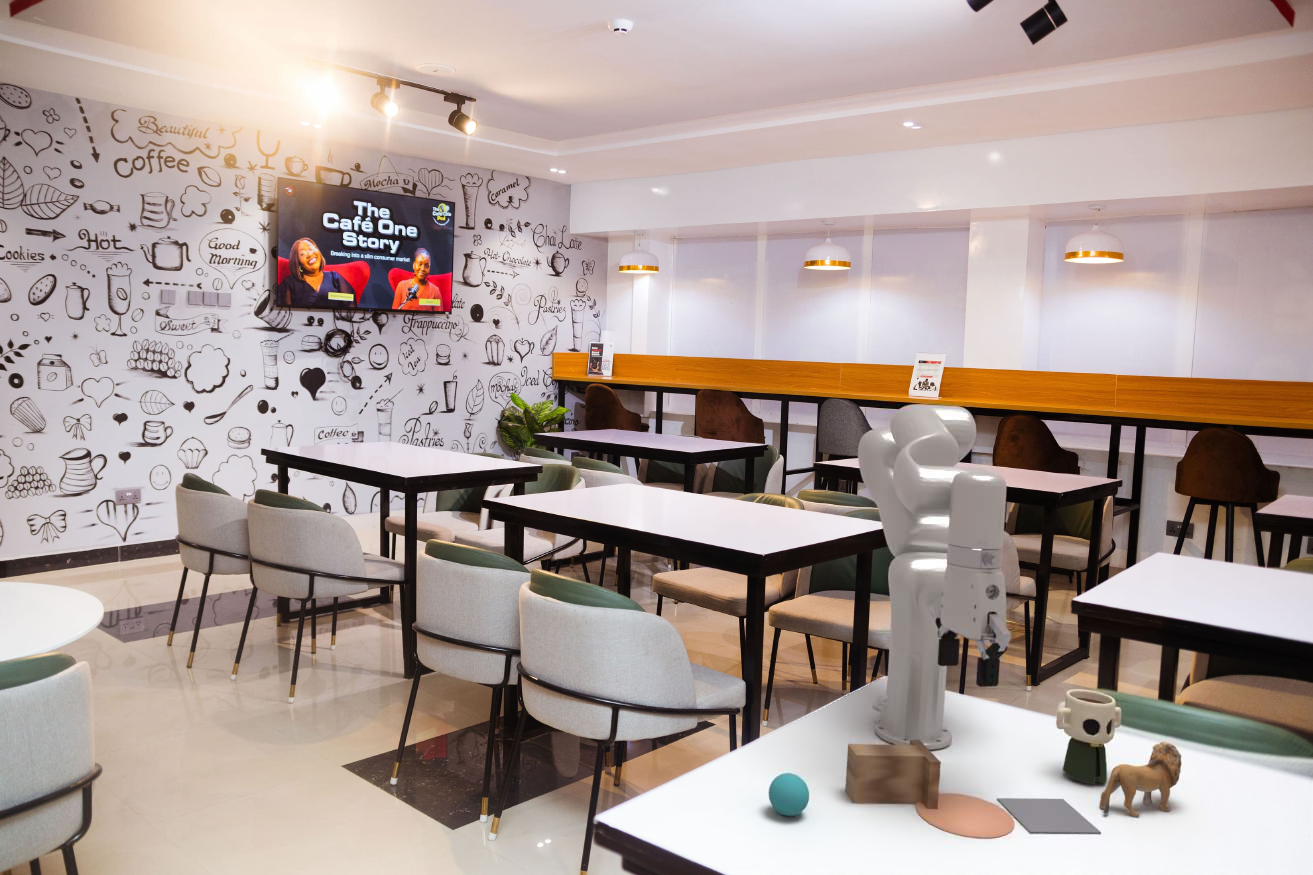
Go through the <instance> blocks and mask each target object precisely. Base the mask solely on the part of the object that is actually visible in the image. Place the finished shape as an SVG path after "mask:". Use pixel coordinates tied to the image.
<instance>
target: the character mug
mask: <svg viewBox="0 0 1313 875" xmlns="http://www.w3.org/2000/svg"><path fill="white" fill-rule="evenodd" d="M1116 705H1117V704H1116V699H1115V698H1114V697H1112V696H1111V695H1109V694H1105V693H1103V692H1100V691H1096V690H1091V689H1090V690H1089V689H1083V688H1082V689H1079V688H1075V689H1068V690H1067V691H1065V700H1064V707H1059V708H1058V709H1057V711H1056V721H1055V724H1056V725H1055V726H1056V728H1057V729H1058V730H1063V731H1064V733H1065V734H1066V735H1067V736H1069V737H1070V738H1069V740H1068V744H1067V748H1066V753H1065V757H1064V761H1063V767H1062V771H1064V773H1065V774H1066V775H1067V776H1069V777H1070V778H1071V779H1073V780H1076V781H1079V782H1081V783H1087V784H1095V783H1096V778H1099V783H1100V784H1104V783H1106V782H1108V781H1107V779H1108V769H1107V768H1108V765H1107V753H1106V747H1105V744H1108V743H1110V742H1111V741H1112V740H1113V739H1114V737H1115V732H1116V729H1117V728H1120V727H1121V725H1122V724H1121V723H1122V722H1121V721H1122V708H1121V707H1119V706H1116Z"/></svg>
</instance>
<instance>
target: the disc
mask: <svg viewBox="0 0 1313 875" xmlns="http://www.w3.org/2000/svg"><path fill="white" fill-rule="evenodd" d="M915 805H916V806H915V807H916V808H915V810H916V812H917V814H918V815H919V816H920V818H922V819H923V820H924V821H925V822H926V823H928V824H929V825H931V826H933V827H935V828H936V829H938V830H939V829H940V830H942V831H944V832H947V833H950V834H954V835H958V836H960V837H961V836H962V837H965V838H974V839H995V838H1001V837H1004V836H1006V835H1007V836H1008V835H1009V834H1010V833H1011V832H1012V831H1013V830H1014V829H1015V821H1014V817H1013V816H1012V814H1011V813H1010V812H1009V811H1007V810H1005V809H1004V808H1002V807H1000V806H999V805H997V804H995V803H993V802H991V801H988V800H985V799H983V798H980V797H976V796H972V795H969V794H968V795H967V794H962V793H953V792H939V795H938V809H927V808H926V807H925V806H924V804H923V803H920V802H917V804H915Z"/></svg>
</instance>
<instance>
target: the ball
mask: <svg viewBox="0 0 1313 875" xmlns="http://www.w3.org/2000/svg"><path fill="white" fill-rule="evenodd" d="M768 799H769V803H770V805H771V806H772V808H773V809H774V810H775V811H776V812H777V813H778V814H780V815H782V816H786V817H794V816H798V815H799V814H800V813H802V812H804V810H805V809H806V808H807V806H808V804H809V800H810V791H809V787H808V785H807V783H806V782H805V781H804V779H803V778H802V777H801V776H799V775H797V774H795V773H790V772H785V773H781V774H779V775H778V776H776V777H775V778H774V779H773V780H772V781H771V783H770V785H769V788H768Z"/></svg>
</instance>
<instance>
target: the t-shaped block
mask: <svg viewBox="0 0 1313 875" xmlns="http://www.w3.org/2000/svg"><path fill="white" fill-rule="evenodd" d="M941 763H942V762H941V761H940V759H938V758H937V757H936V756H935V754H934V753H933V752H932V750H929V749H928V748H927V747H926V746H925V745H924V744H923V743H922V742H921V741H920V740H910V745H895V744H872V743H871V744H865V743H862V744H860V743H858V744H857V743H848V744H847V756H846V772H845V773H846V774H845V789H844V791H845V793H846V794H847V796H848V798H849V799H850V800H851V802H852V804H858V805H859V804H861V805H862V804H867V805H869V804H873V805H874V804H875V805H877V804H878V805H882V804H883V805H888V804H889V805H916V804H917V802H920V803H923V804H924V806H925V807H926V808H927V809H938V795H939V793H940V792H939V791H940V780H941V779H940V776H941V765H942V764H941Z"/></svg>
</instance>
